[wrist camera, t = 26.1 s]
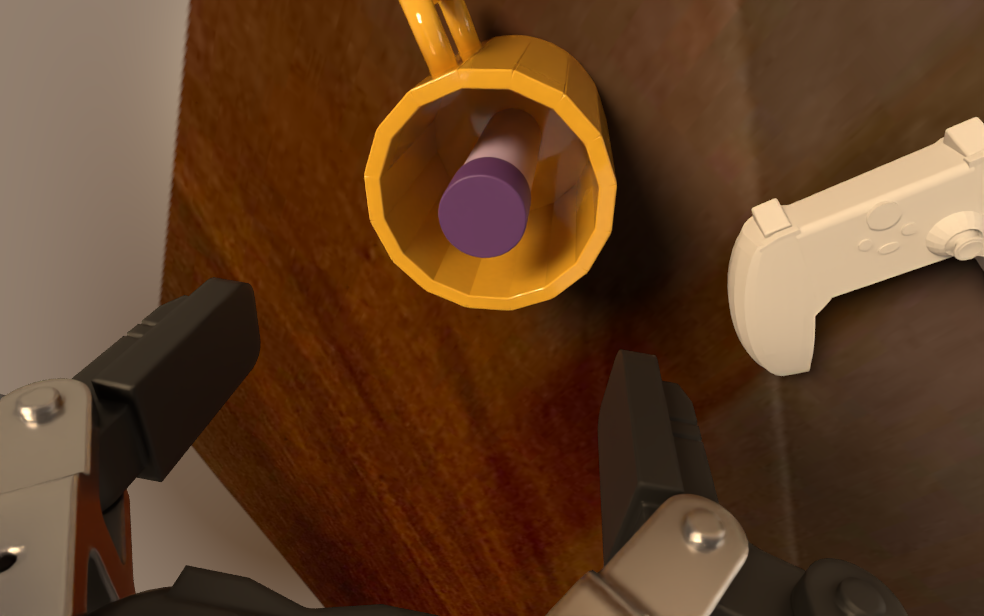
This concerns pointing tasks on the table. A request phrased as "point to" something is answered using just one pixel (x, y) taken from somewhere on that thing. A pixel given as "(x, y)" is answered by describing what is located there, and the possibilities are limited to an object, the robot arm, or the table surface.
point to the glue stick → (493, 187)
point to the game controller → (853, 242)
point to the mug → (452, 136)
